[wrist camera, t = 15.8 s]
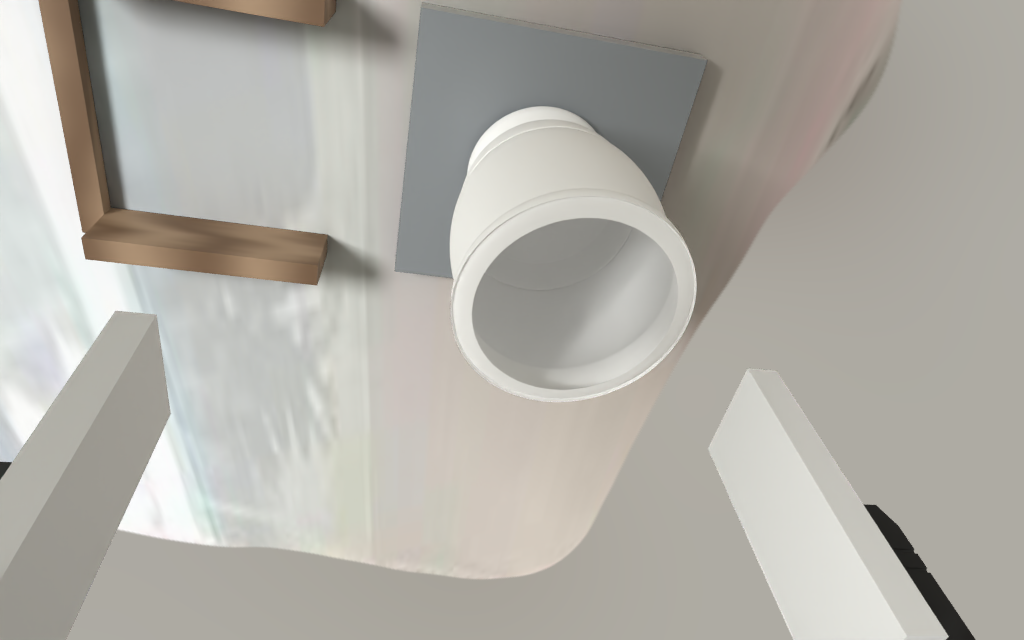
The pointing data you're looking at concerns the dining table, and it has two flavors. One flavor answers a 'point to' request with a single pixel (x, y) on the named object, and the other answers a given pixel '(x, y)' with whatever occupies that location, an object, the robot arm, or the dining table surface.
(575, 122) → the jar
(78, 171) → the brown wooden u-shaped frame
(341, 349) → the dining table surface
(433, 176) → the plate
